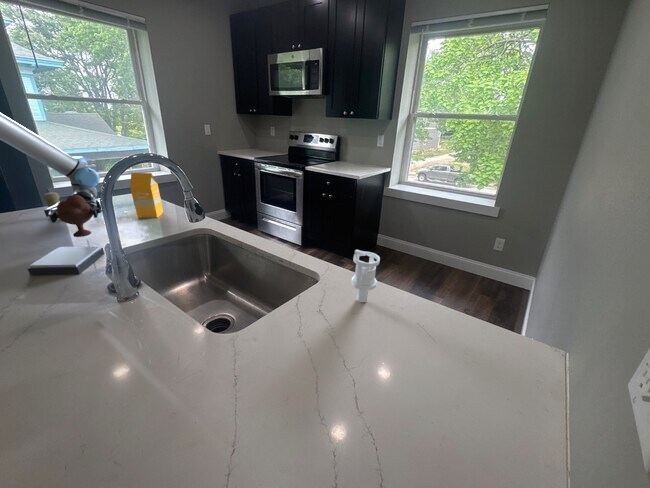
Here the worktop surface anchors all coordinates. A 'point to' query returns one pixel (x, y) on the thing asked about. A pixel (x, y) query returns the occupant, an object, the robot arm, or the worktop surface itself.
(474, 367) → the worktop surface
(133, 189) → the orange juice
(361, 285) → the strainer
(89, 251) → the scale
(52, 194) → the cork
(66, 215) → the ice cream bowl
